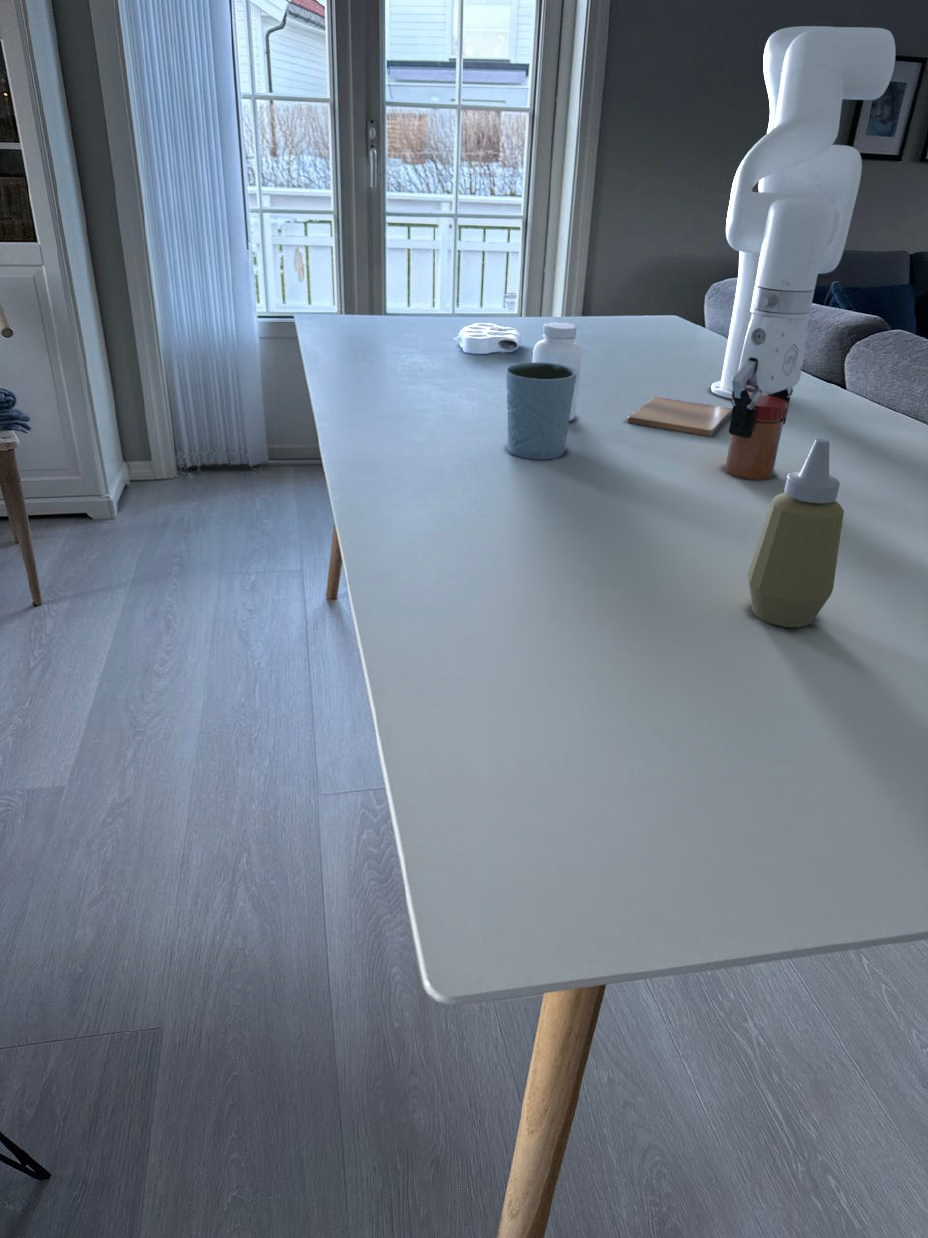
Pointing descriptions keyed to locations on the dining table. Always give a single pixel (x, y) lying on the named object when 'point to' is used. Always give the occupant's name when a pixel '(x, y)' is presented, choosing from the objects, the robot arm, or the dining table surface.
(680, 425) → the wooden board
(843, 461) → the dining table surface
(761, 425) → the jam jar
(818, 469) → the squeeze bottle
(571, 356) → the pill bottle
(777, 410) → the jam lid
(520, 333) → the white flat molded block
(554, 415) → the blue embossed cup
